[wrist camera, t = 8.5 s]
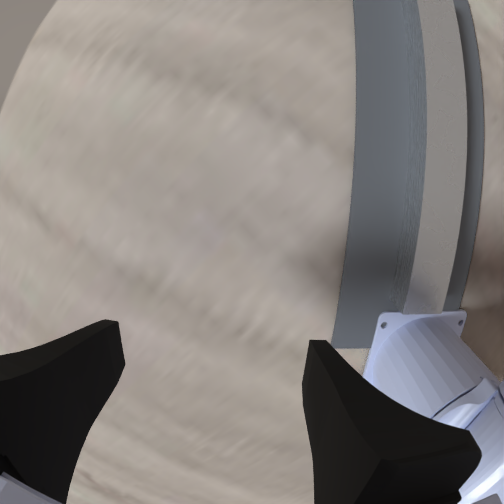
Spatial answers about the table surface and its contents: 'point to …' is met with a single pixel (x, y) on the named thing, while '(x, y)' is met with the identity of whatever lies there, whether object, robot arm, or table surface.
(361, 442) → the robot arm
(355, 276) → the rubber mat
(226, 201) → the table surface
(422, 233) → the steel rail
